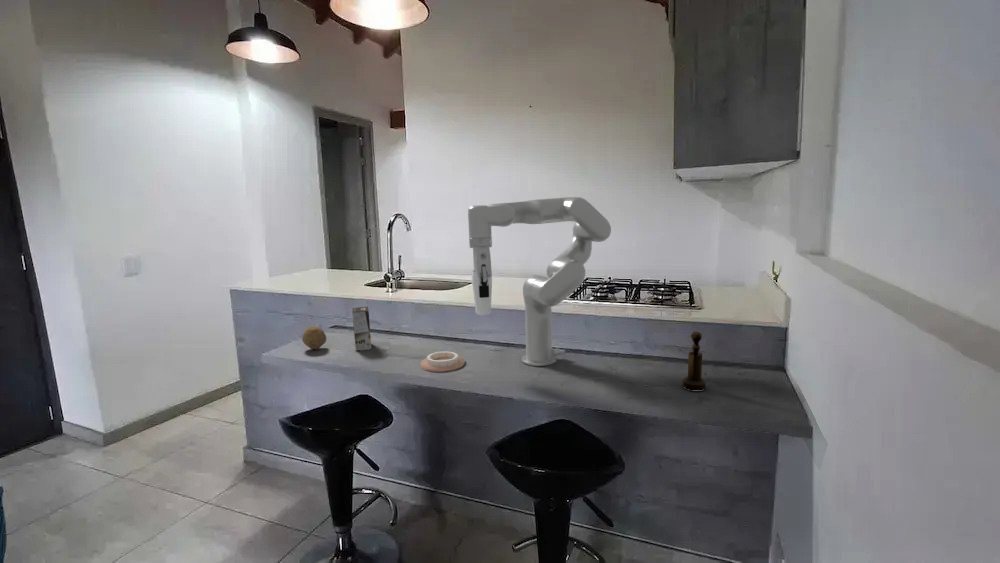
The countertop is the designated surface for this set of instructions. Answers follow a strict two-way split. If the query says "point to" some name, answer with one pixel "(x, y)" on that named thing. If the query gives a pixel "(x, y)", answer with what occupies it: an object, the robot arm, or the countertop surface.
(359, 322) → the coffee box
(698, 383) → the dark chess pawn
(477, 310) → the drinking glass
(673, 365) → the countertop surface
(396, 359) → the countertop surface
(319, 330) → the natural sponge
